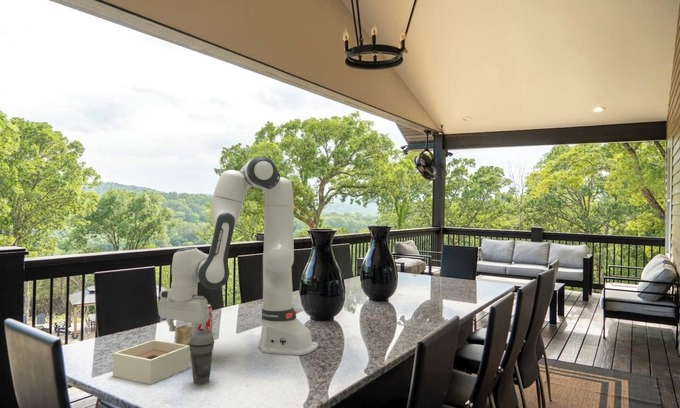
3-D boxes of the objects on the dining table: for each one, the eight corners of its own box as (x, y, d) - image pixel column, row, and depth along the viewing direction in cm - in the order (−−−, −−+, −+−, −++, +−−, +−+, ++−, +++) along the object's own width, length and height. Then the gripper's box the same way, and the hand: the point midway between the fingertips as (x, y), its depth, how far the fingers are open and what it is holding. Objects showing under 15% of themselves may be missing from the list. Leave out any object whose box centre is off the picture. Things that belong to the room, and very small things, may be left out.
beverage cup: (191, 377, 136) (192, 311, 137) (216, 376, 137) (216, 311, 137) (185, 387, 129) (186, 317, 129) (211, 386, 130) (211, 317, 130)
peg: (193, 355, 158) (193, 326, 158) (184, 358, 154) (185, 329, 154) (184, 353, 159) (184, 325, 159) (176, 356, 156) (176, 328, 156)
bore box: (189, 367, 145) (190, 345, 145) (150, 384, 131) (150, 360, 131) (153, 360, 152) (154, 339, 152) (112, 376, 137) (112, 353, 137)
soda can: (207, 337, 180) (207, 307, 180) (191, 336, 181) (191, 306, 181) (215, 332, 187) (215, 304, 187) (199, 331, 188) (200, 303, 188)
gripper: (213, 295, 155) (212, 335, 155) (169, 289, 164) (168, 327, 164) (200, 298, 150) (199, 339, 149) (156, 292, 158) (154, 331, 158)
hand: (182, 333), depth 157 cm, fingers open, 8 cm apart
